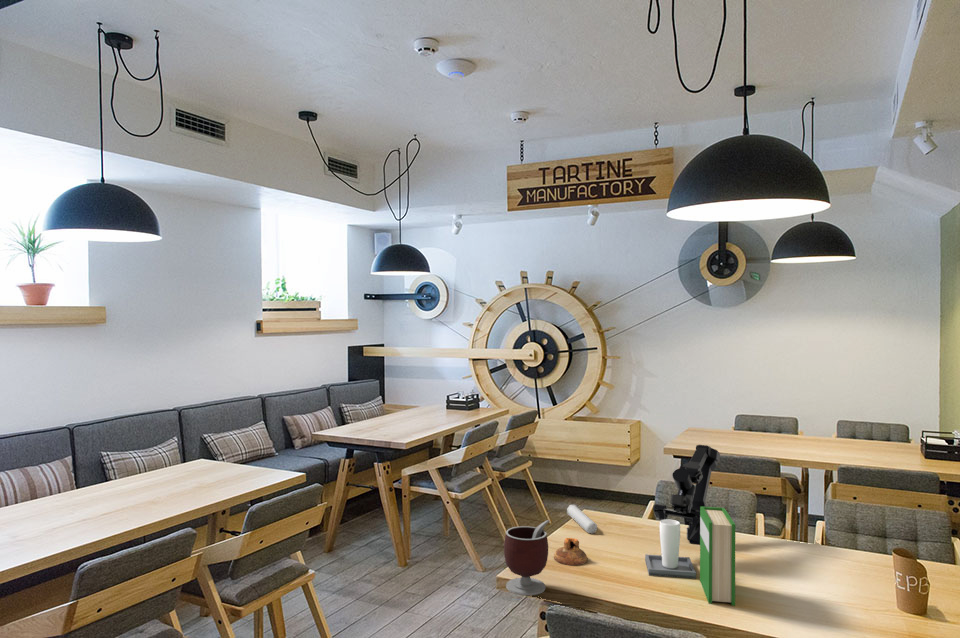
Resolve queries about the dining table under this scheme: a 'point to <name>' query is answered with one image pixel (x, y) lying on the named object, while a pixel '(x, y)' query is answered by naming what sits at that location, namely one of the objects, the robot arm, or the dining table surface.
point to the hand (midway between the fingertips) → (675, 536)
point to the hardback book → (717, 554)
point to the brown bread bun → (570, 553)
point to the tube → (582, 519)
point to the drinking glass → (670, 542)
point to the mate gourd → (526, 558)
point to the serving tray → (682, 571)
